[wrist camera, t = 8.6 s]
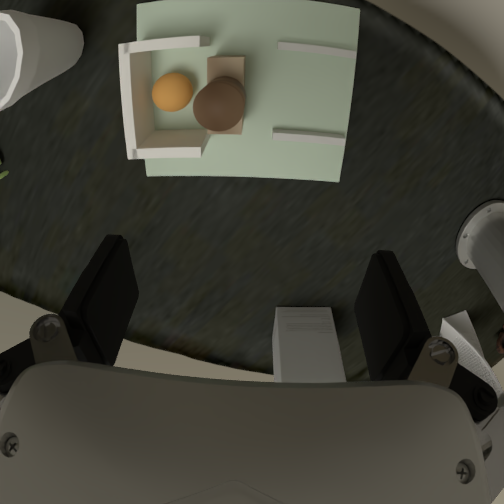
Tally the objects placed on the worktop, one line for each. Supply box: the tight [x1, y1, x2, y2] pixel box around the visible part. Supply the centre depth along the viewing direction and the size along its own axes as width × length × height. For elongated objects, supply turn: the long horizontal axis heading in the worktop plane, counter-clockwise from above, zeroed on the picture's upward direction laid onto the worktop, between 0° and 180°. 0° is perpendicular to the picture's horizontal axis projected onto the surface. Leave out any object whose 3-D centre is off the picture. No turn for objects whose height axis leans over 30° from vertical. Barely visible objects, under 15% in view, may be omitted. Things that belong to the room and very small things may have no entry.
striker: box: [193, 55, 246, 135], centre depth 24 cm, size 4×7×10 cm, turn 178°
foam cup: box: [0, 10, 84, 111], centre depth 20 cm, size 10×9×13 cm
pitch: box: [118, 0, 360, 182], centre depth 27 cm, size 22×20×7 cm
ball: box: [152, 73, 193, 112], centre depth 27 cm, size 4×4×4 cm
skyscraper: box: [439, 310, 503, 398], centre depth 41 cm, size 8×8×28 cm
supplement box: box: [272, 307, 346, 383], centre depth 46 cm, size 9×9×15 cm
